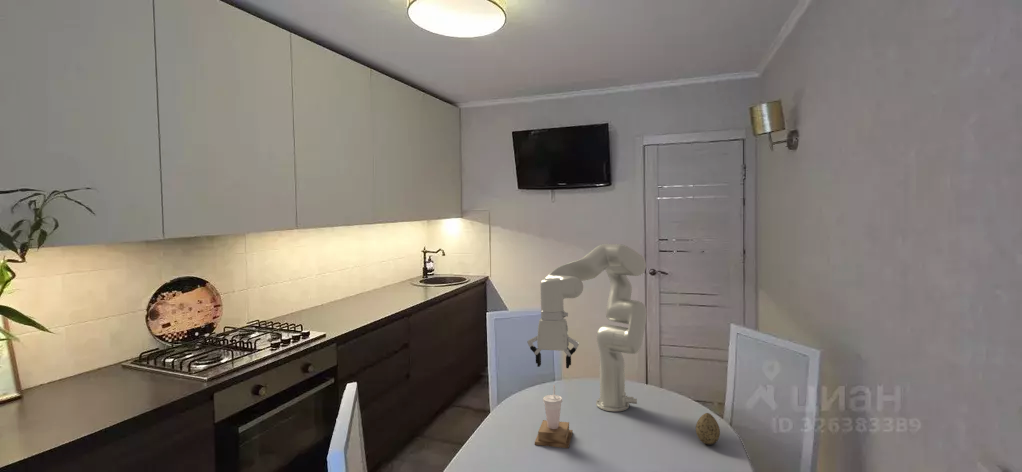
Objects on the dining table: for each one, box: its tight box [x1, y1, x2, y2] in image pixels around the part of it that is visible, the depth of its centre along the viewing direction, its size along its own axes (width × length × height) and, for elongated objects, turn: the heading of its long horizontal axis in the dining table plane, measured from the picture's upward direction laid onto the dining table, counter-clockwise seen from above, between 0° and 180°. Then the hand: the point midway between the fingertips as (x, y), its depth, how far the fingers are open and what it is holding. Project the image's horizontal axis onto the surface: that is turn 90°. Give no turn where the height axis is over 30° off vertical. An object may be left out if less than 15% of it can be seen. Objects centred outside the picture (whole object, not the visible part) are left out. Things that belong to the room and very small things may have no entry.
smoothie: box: [542, 384, 563, 429], centre depth 154 cm, size 6×6×14 cm
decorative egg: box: [695, 412, 721, 446], centre depth 149 cm, size 7×7×10 cm
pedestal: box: [534, 419, 573, 449], centre depth 155 cm, size 11×11×4 cm
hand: (553, 366), depth 154 cm, fingers open, 9 cm apart
